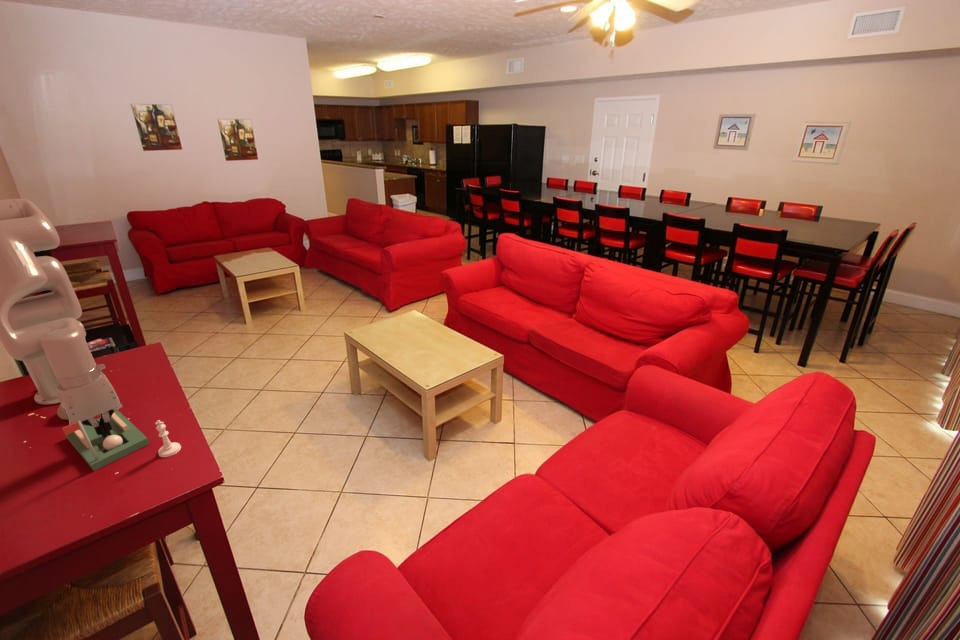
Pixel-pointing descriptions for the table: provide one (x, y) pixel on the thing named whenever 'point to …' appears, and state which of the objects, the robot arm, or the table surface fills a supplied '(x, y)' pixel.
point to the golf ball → (112, 442)
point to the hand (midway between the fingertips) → (105, 434)
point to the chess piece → (166, 442)
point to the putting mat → (92, 444)
